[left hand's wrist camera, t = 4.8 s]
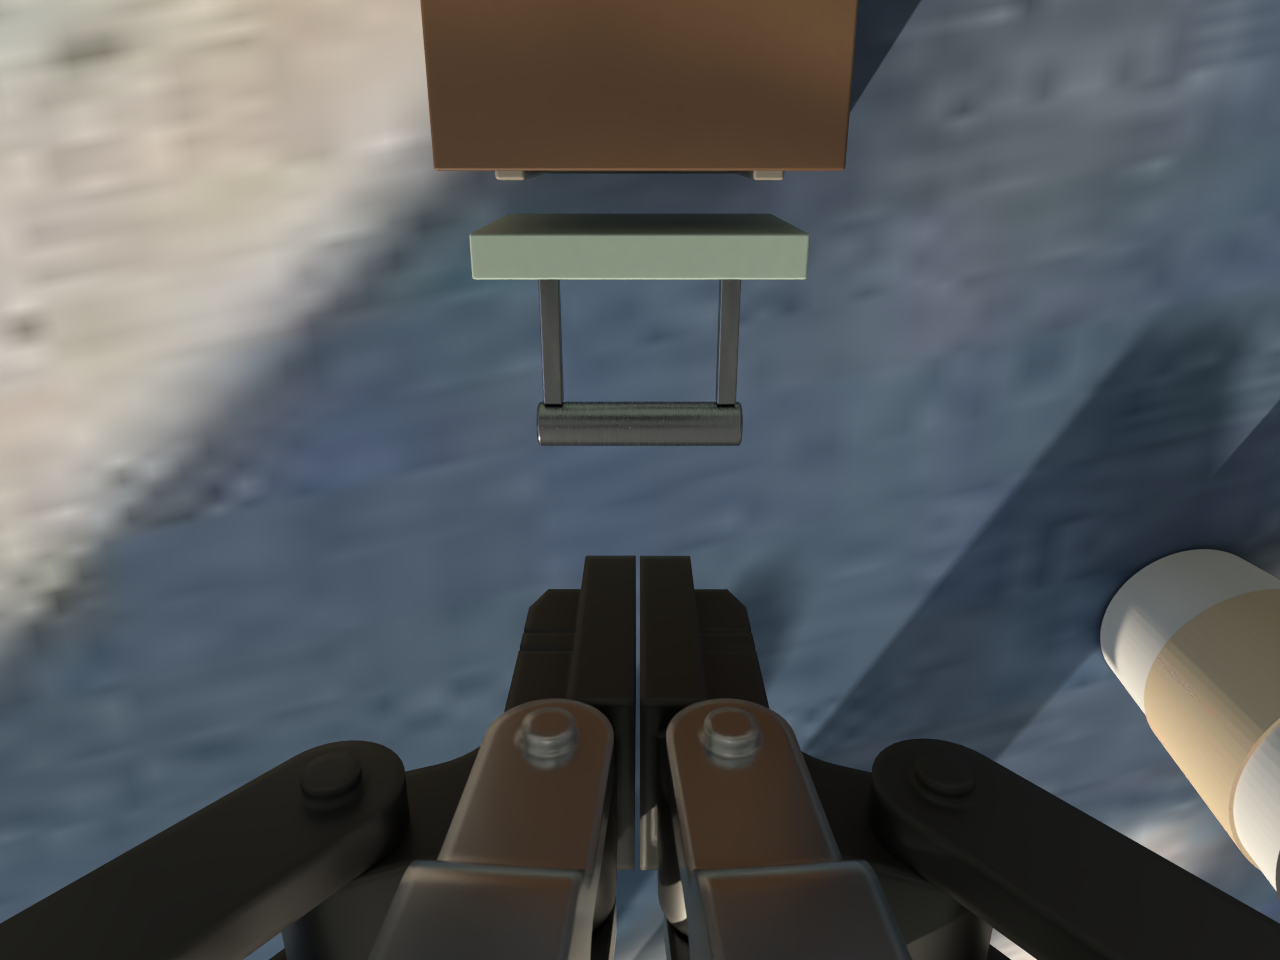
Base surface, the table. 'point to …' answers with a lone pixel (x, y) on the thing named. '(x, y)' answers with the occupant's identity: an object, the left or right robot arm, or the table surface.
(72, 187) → the table surface
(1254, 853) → the coffee cup
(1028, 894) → the left robot arm
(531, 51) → the cabinet
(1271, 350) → the table surface
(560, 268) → the drawer
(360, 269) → the table surface
